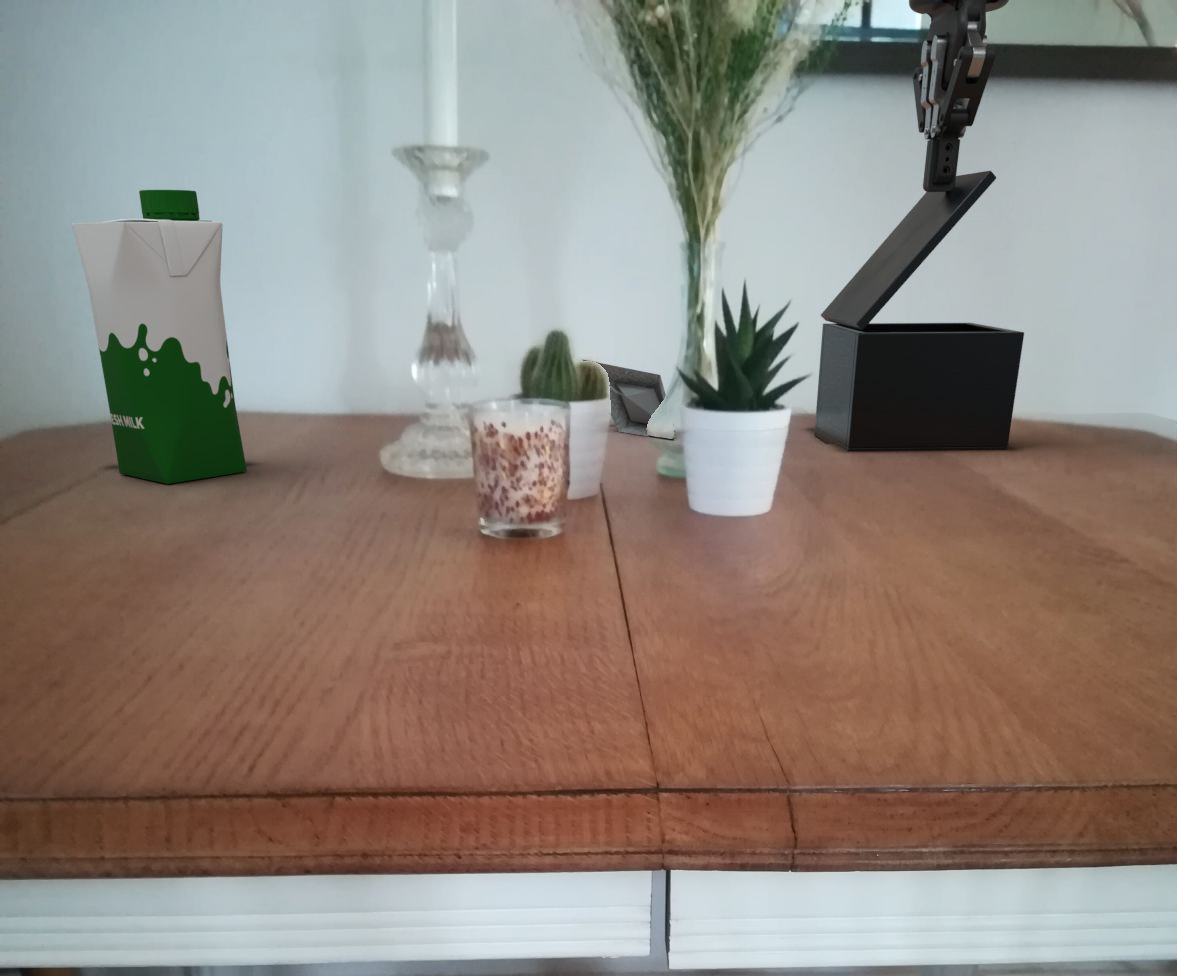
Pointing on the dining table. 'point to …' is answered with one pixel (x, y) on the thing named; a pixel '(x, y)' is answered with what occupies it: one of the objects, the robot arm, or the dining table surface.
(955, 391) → the black box
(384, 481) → the dining table surface
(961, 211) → the box lid
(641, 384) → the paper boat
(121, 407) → the milk carton
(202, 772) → the dining table surface
